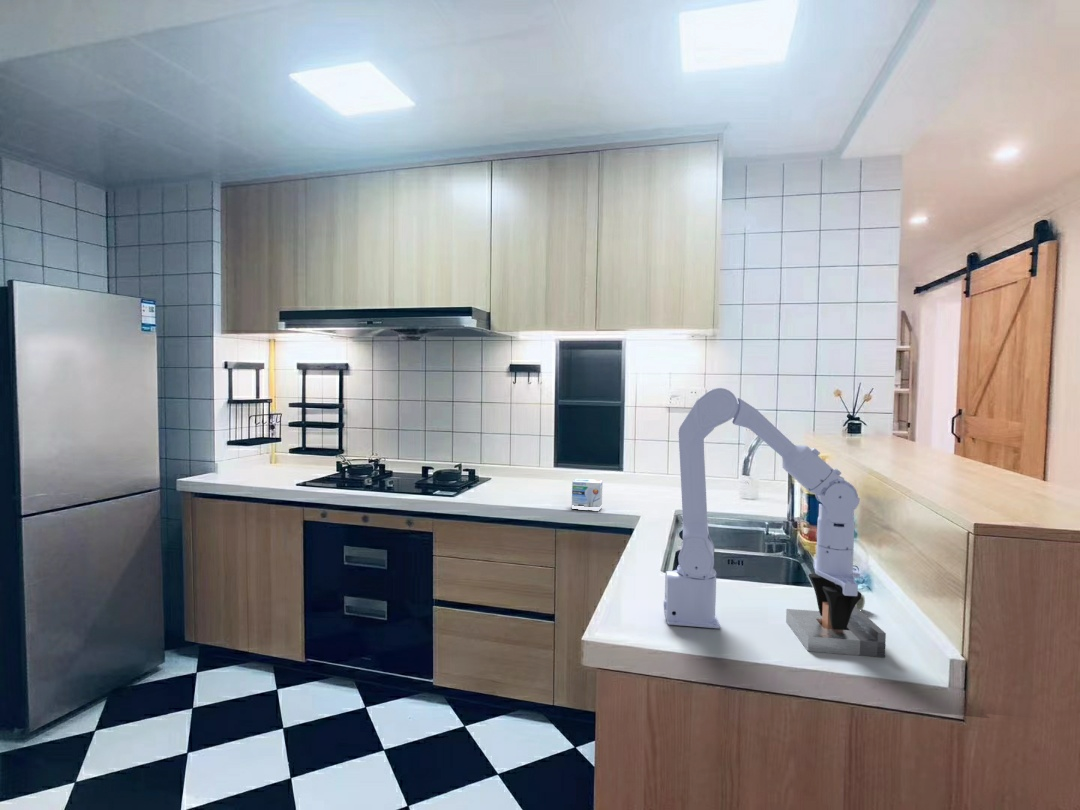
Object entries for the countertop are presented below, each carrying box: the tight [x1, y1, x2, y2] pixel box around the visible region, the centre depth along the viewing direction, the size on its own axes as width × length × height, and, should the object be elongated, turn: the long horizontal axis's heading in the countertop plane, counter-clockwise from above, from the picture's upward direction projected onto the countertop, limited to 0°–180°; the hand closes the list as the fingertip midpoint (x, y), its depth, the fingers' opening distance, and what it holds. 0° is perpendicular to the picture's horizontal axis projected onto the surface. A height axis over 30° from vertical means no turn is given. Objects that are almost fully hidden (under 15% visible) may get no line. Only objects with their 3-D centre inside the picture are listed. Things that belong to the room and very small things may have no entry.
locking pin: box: [822, 602, 833, 629], centre depth 97 cm, size 3×3×6 cm
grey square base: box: [785, 606, 887, 658], centre depth 97 cm, size 12×12×4 cm
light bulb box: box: [571, 478, 603, 507], centre depth 203 cm, size 11×7×11 cm, turn 77°
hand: (832, 622), depth 97 cm, fingers open, 5 cm apart
